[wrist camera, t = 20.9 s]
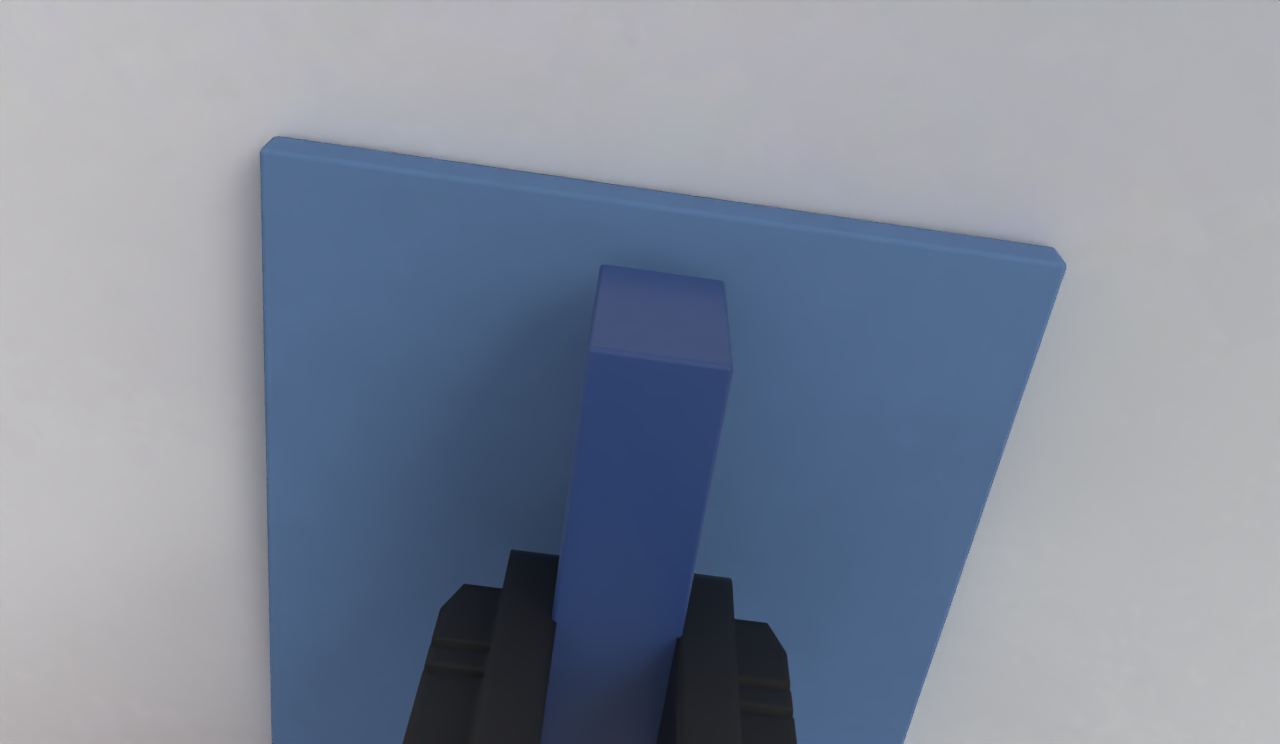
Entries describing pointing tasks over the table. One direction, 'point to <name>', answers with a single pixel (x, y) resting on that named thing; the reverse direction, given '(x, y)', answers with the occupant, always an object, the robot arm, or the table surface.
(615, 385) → the blue toy mallet
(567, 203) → the blue mat
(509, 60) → the table surface
